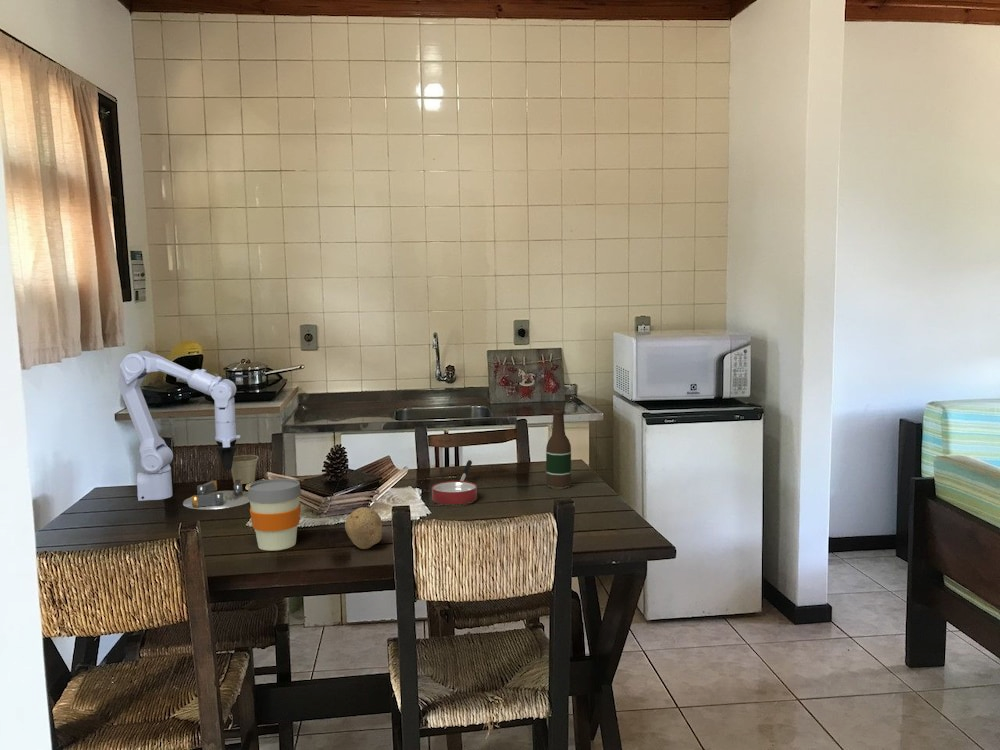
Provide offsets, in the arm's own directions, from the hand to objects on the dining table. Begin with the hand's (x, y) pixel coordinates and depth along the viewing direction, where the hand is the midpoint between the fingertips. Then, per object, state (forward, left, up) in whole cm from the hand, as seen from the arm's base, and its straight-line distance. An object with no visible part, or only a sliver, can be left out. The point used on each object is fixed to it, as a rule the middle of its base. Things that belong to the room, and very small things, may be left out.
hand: (227, 466), depth 245 cm
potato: (+31, -59, -10) cm, 67 cm away
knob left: (-6, +3, -8) cm, 10 cm away
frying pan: (+66, -17, -10) cm, 68 cm away
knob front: (-6, -11, -8) cm, 15 cm away
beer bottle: (+96, -21, -10) cm, 99 cm away
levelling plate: (-3, -5, -10) cm, 11 cm away
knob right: (+3, +1, -8) cm, 9 cm away
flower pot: (+4, +15, -10) cm, 19 cm away
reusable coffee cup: (+11, -49, -10) cm, 51 cm away
